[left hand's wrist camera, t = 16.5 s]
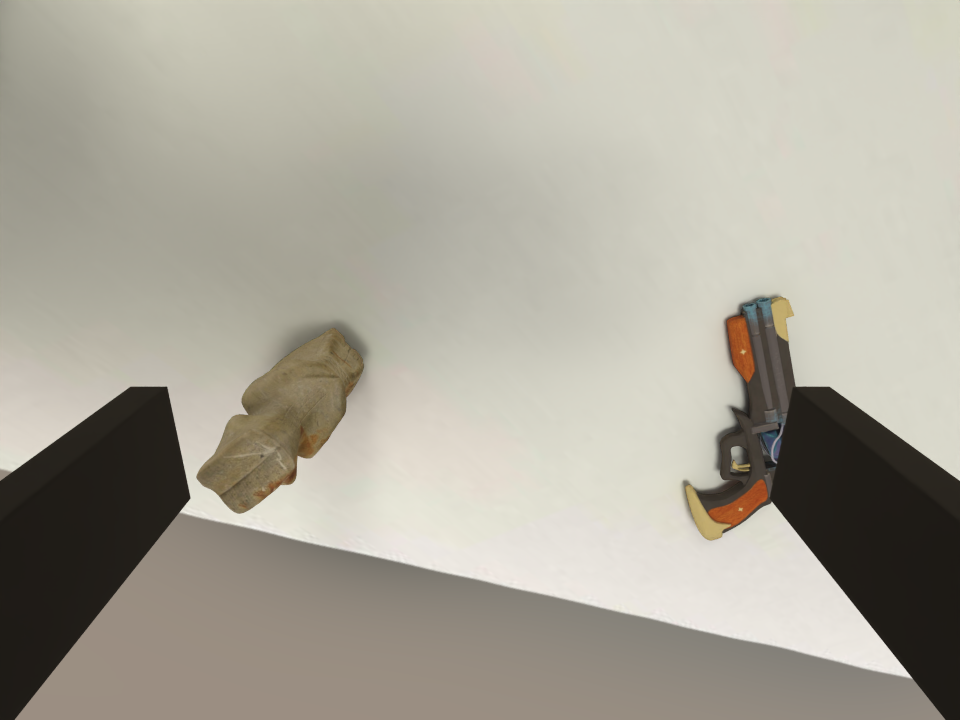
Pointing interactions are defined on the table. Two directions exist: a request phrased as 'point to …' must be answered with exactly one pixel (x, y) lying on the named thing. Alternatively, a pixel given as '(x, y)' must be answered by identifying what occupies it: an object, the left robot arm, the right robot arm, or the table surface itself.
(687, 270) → the table surface
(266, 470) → the sculpture
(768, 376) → the toy gun
